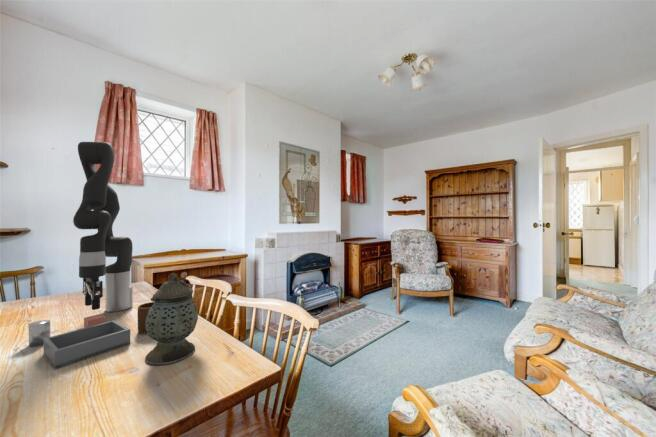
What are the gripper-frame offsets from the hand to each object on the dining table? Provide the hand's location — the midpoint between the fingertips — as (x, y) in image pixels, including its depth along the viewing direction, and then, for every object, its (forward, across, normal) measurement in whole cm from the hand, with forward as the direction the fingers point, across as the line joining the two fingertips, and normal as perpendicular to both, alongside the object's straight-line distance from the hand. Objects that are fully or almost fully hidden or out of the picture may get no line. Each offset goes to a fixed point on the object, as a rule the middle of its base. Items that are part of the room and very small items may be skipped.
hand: (92, 307), depth 100 cm
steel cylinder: (+9, +2, +13) cm, 16 cm away
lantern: (+9, -42, -10) cm, 44 cm away
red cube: (+9, 0, -1) cm, 9 cm away
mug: (+9, -19, -13) cm, 25 cm away
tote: (+9, -17, +5) cm, 20 cm away
